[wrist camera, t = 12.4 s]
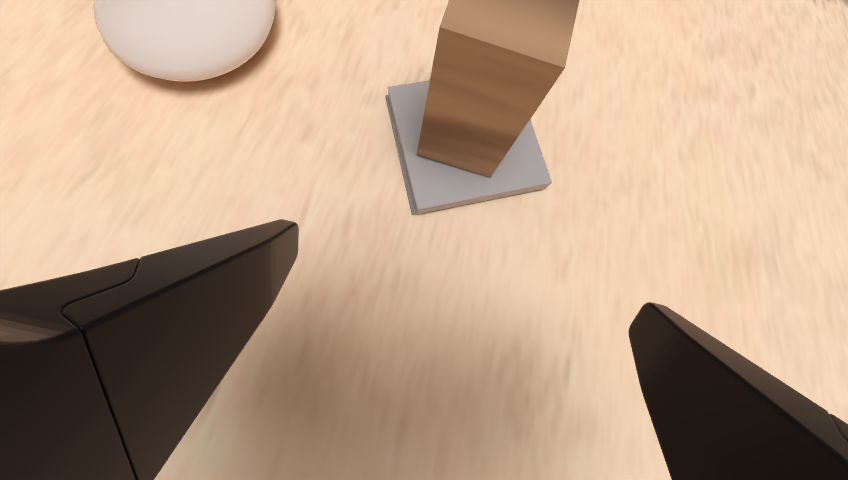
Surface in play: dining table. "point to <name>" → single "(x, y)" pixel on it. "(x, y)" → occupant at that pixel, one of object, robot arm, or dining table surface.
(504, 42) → the walnut post
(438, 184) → the upper grey slab
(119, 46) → the flower in vase
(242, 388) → the dining table surface
